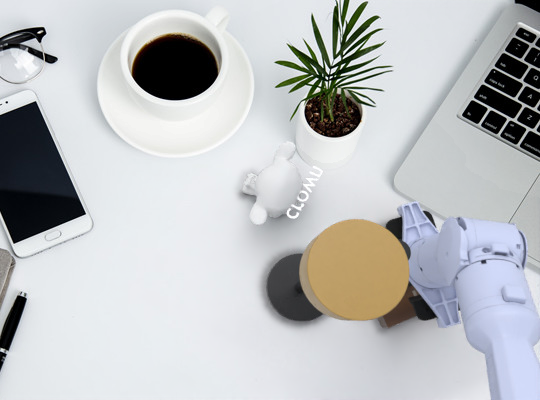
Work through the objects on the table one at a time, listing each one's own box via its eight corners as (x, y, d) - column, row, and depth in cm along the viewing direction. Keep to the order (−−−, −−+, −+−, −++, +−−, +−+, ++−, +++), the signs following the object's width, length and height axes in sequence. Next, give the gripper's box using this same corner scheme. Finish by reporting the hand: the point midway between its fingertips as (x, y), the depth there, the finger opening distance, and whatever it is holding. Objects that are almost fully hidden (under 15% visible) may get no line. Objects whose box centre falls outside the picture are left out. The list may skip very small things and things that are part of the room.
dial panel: (450, 299, 82) (459, 298, 79) (382, 327, 82) (388, 328, 79) (410, 217, 84) (418, 213, 81) (344, 244, 84) (348, 242, 81)
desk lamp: (343, 305, 83) (510, 292, 36) (271, 335, 82) (343, 361, 35) (316, 244, 84) (440, 153, 37) (245, 273, 84) (280, 218, 37)
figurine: (233, 225, 87) (298, 249, 83) (214, 208, 80) (285, 233, 75) (265, 150, 89) (331, 170, 85) (250, 126, 82) (321, 146, 77)
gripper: (386, 205, 67) (358, 223, 80) (432, 336, 64) (395, 333, 77) (448, 187, 67) (410, 209, 80) (497, 318, 64) (449, 318, 77)
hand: (406, 269), depth 79 cm, fingers open, 7 cm apart
